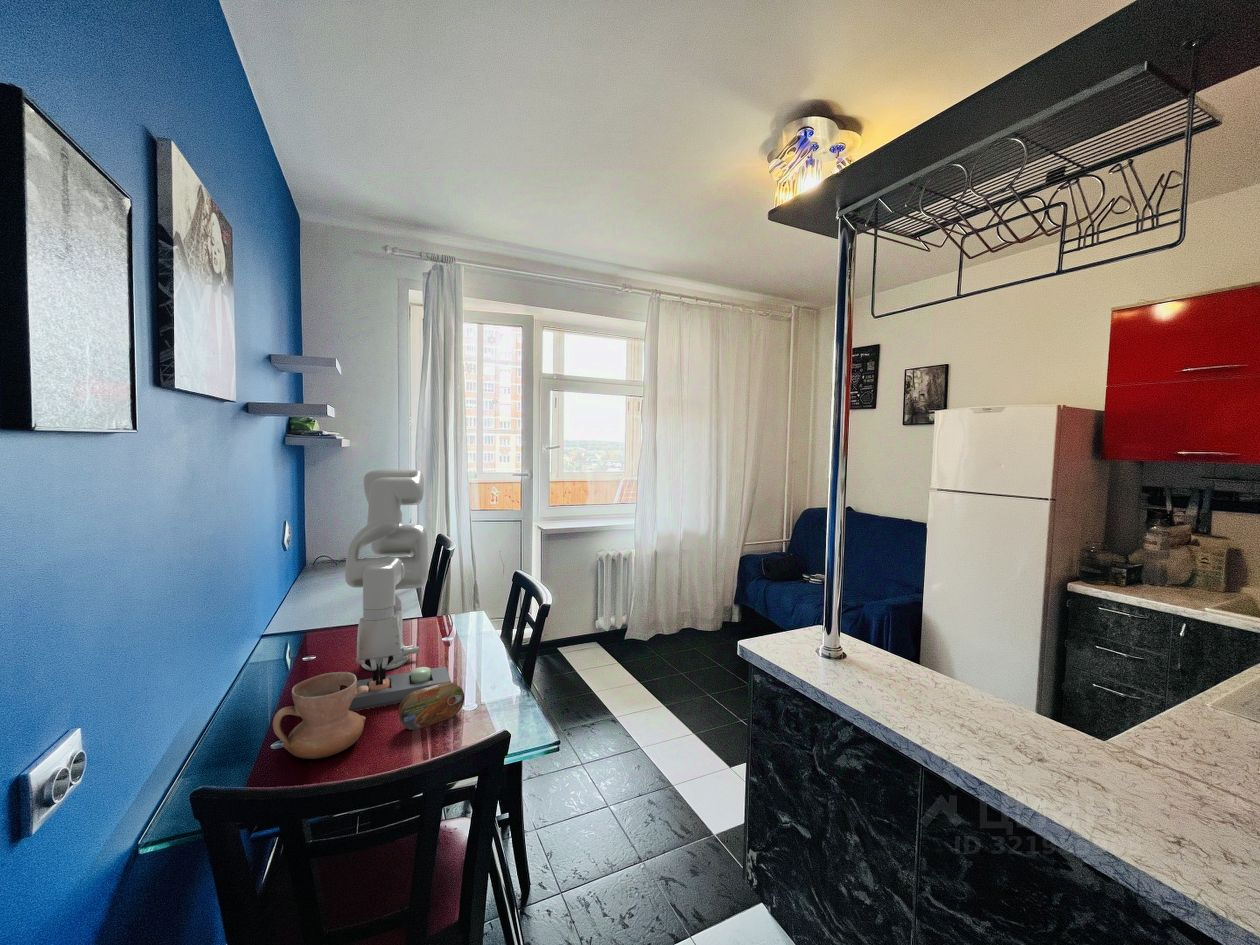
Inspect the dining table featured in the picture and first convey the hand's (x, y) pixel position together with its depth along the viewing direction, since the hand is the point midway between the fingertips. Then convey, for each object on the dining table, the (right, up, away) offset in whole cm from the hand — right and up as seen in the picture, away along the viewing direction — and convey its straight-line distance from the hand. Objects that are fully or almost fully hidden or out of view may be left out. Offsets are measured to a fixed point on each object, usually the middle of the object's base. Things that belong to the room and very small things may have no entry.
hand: (379, 682), depth 133 cm
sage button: (+9, -2, +5) cm, 10 cm away
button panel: (+4, -4, +3) cm, 7 cm away
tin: (+17, -6, -10) cm, 21 cm away
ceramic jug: (-2, -6, -21) cm, 22 cm away
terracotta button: (0, -3, +1) cm, 3 cm away
